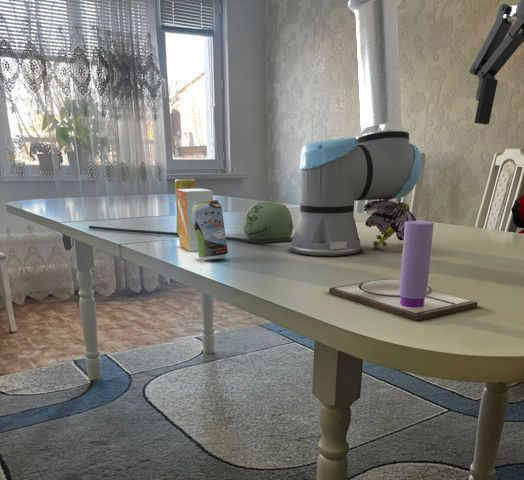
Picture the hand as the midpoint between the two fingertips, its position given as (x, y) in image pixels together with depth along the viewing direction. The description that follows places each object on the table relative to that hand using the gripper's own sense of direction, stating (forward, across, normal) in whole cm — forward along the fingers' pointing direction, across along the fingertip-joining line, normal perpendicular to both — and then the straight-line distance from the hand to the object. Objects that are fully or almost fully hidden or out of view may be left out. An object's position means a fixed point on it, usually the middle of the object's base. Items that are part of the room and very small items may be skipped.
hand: (519, 124), depth 82 cm
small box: (+29, +59, +25) cm, 70 cm away
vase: (+30, +79, +18) cm, 86 cm away
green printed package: (+29, +44, +29) cm, 60 cm away
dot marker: (+25, -6, +23) cm, 34 cm away
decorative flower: (+26, +35, -13) cm, 45 cm away
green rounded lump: (+28, +64, +3) cm, 70 cm away
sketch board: (+26, -1, +20) cm, 33 cm away
